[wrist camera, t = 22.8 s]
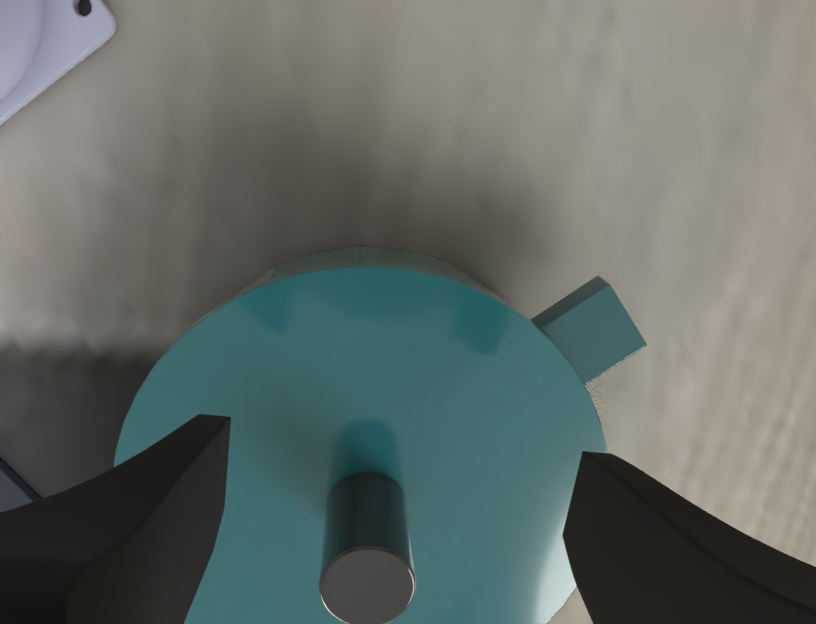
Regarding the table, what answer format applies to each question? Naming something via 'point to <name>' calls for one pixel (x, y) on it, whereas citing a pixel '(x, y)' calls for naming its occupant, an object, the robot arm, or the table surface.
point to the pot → (563, 322)
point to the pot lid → (378, 450)
